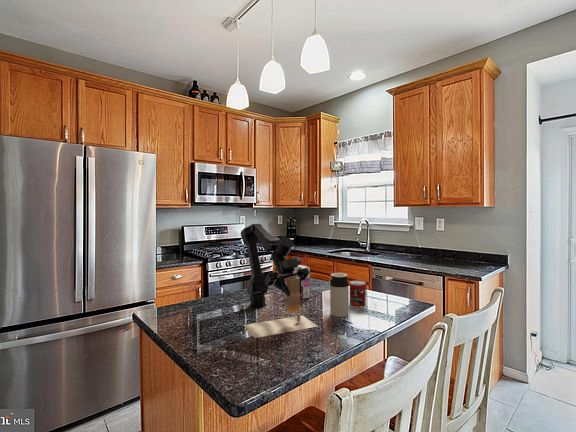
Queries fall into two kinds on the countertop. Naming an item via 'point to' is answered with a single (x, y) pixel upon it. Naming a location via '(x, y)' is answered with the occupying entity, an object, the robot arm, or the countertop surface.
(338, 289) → the travel mug
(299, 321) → the pin board
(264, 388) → the countertop surface
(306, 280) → the candy bar box
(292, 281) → the sleeve
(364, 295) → the canned food
